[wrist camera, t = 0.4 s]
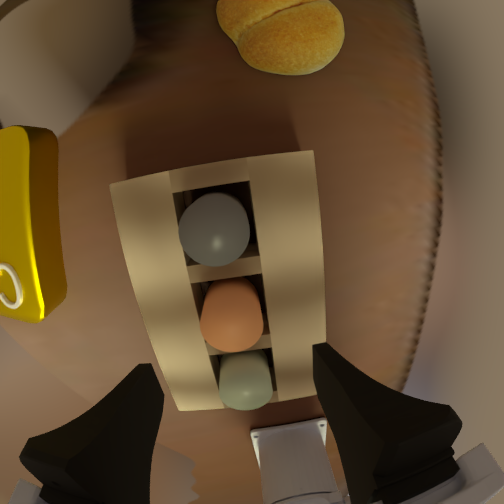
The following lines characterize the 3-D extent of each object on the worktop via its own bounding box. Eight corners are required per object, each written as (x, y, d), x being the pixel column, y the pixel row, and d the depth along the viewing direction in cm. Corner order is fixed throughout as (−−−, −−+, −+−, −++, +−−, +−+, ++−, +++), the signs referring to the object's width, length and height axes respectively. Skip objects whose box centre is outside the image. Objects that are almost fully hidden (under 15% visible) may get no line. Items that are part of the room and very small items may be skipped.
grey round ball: (250, 243, 18) (254, 261, 15) (194, 251, 18) (186, 271, 15) (242, 186, 17) (244, 191, 14) (184, 196, 17) (172, 203, 14)
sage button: (269, 375, 21) (274, 406, 18) (225, 381, 21) (224, 412, 18) (264, 340, 20) (269, 370, 17) (216, 346, 20) (213, 377, 17)
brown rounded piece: (261, 318, 20) (266, 347, 16) (211, 325, 20) (207, 355, 16) (254, 271, 19) (259, 294, 15) (200, 279, 19) (193, 303, 15)
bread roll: (265, 97, 17) (272, 80, 13) (202, 8, 15) (196, -20, 11) (360, 57, 16) (383, 39, 12) (297, -24, 14) (307, -51, 10)
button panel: (316, 370, 23) (325, 392, 20) (183, 387, 23) (179, 410, 20) (301, 152, 18) (313, 150, 15) (126, 181, 18) (109, 184, 15)
